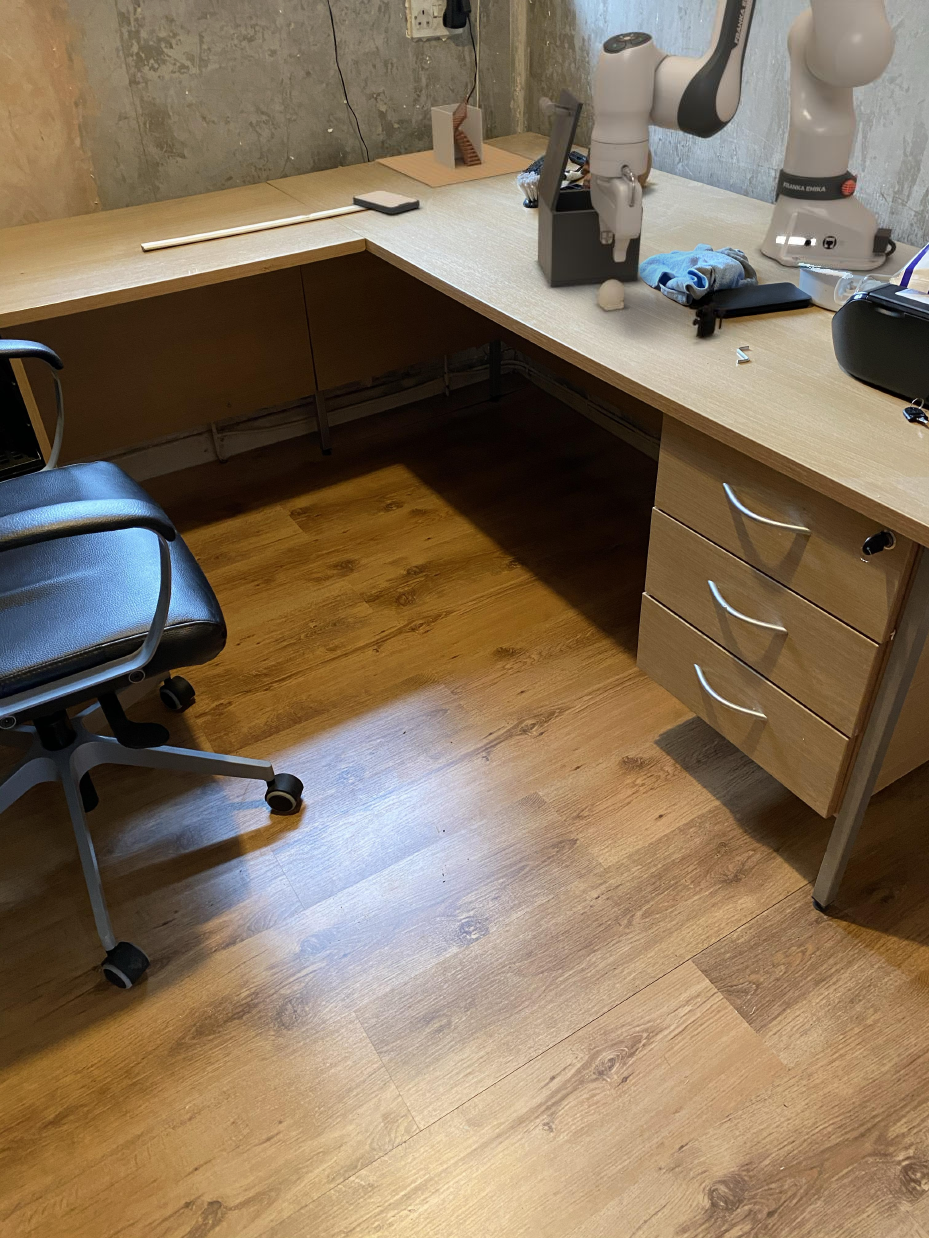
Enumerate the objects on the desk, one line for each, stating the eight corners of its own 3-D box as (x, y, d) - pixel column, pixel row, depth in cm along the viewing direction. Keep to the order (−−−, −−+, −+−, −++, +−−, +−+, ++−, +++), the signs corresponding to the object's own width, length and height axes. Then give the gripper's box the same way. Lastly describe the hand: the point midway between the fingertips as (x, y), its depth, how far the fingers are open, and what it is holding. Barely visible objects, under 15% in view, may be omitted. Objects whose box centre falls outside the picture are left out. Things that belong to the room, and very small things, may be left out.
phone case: (351, 204, 211) (391, 216, 201) (350, 197, 210) (390, 208, 200) (381, 196, 215) (422, 207, 205) (381, 189, 214) (422, 200, 204)
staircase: (453, 169, 232) (450, 96, 221) (434, 161, 239) (430, 89, 229) (483, 164, 235) (481, 91, 224) (463, 156, 242) (460, 85, 232)
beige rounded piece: (624, 301, 155) (626, 276, 152) (623, 311, 152) (625, 285, 149) (598, 301, 156) (599, 275, 153) (597, 310, 153) (598, 284, 150)
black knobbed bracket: (693, 343, 140) (697, 311, 137) (681, 338, 142) (685, 306, 139) (724, 331, 143) (729, 300, 140) (712, 327, 145) (717, 295, 142)
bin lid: (566, 88, 155) (538, 81, 154) (583, 103, 144) (553, 96, 143) (540, 190, 165) (514, 184, 164) (554, 212, 154) (526, 206, 153)
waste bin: (618, 255, 174) (623, 186, 166) (637, 280, 163) (643, 207, 155) (537, 261, 173) (538, 192, 166) (551, 287, 162) (552, 214, 155)
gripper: (656, 174, 132) (647, 270, 140) (623, 143, 148) (617, 232, 156) (613, 176, 131) (607, 273, 140) (585, 145, 147) (581, 234, 156)
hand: (612, 251), depth 148 cm, fingers open, 8 cm apart
